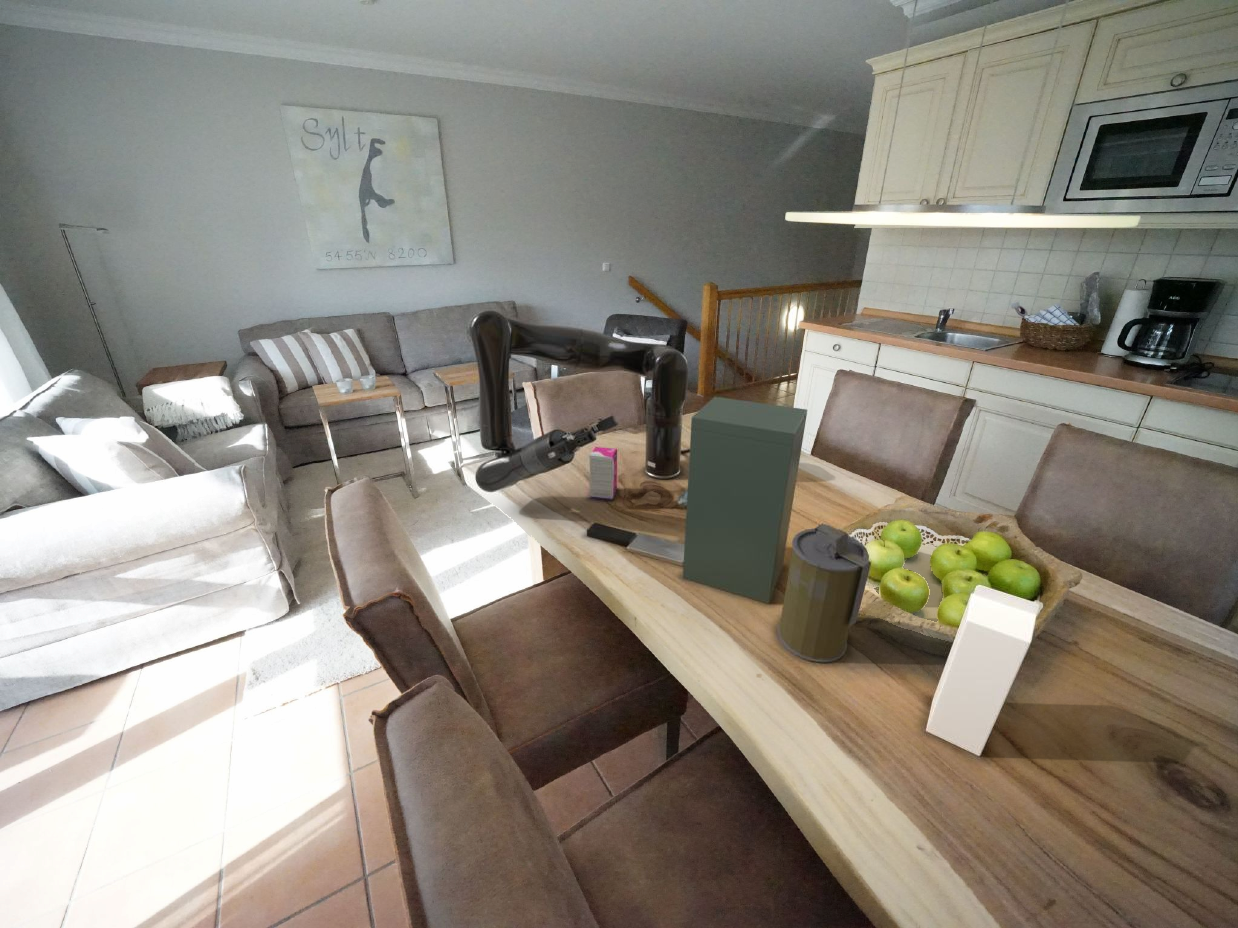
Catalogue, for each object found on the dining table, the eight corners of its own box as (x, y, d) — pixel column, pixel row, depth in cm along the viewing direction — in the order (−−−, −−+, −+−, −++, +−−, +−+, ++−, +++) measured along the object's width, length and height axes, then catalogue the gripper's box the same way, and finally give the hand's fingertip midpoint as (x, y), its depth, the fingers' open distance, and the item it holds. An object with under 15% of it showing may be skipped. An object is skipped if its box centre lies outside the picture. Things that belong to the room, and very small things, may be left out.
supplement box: (613, 501, 122) (612, 457, 117) (589, 498, 123) (587, 455, 118) (617, 489, 127) (617, 447, 122) (594, 487, 128) (593, 446, 123)
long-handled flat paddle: (597, 525, 112) (597, 519, 111) (692, 550, 103) (693, 544, 102) (583, 539, 107) (583, 533, 106) (682, 566, 98) (683, 560, 97)
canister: (764, 633, 82) (779, 528, 73) (802, 606, 88) (821, 506, 79) (824, 676, 74) (850, 564, 66) (862, 643, 80) (890, 536, 71)
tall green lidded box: (703, 545, 105) (714, 396, 91) (782, 566, 98) (807, 409, 84) (682, 578, 95) (691, 417, 81) (768, 604, 88) (794, 433, 75)
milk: (932, 700, 70) (978, 570, 61) (984, 723, 67) (1041, 589, 58) (925, 732, 66) (973, 597, 57) (980, 758, 63) (1041, 619, 53)
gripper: (517, 449, 100) (576, 421, 91) (557, 425, 112) (613, 399, 102) (536, 482, 101) (595, 458, 92) (573, 455, 113) (630, 432, 103)
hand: (604, 427), depth 97 cm, fingers open, 8 cm apart
